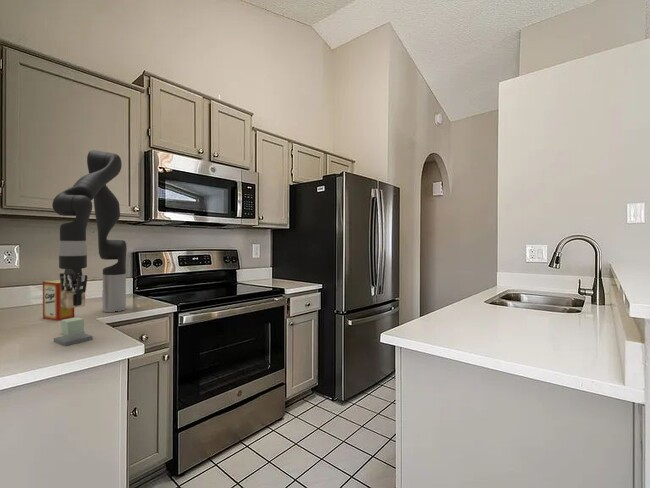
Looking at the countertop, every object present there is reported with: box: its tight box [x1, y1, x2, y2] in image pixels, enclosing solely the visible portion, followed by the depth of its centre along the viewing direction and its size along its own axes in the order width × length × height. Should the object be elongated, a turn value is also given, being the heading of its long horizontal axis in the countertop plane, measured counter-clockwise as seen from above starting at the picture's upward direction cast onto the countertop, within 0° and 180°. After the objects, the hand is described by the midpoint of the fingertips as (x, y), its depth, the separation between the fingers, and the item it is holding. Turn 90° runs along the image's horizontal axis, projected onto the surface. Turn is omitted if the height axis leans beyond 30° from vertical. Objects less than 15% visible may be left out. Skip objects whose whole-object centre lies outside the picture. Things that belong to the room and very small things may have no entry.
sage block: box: [60, 316, 85, 336], centre depth 120 cm, size 5×5×5 cm
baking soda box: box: [42, 279, 75, 322], centre depth 140 cm, size 10×6×16 cm
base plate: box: [53, 332, 94, 347], centre depth 111 cm, size 8×8×1 cm
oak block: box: [61, 291, 86, 309], centre depth 111 cm, size 5×5×5 cm
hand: (73, 304), depth 111 cm, fingers closed on oak block, 5 cm apart
